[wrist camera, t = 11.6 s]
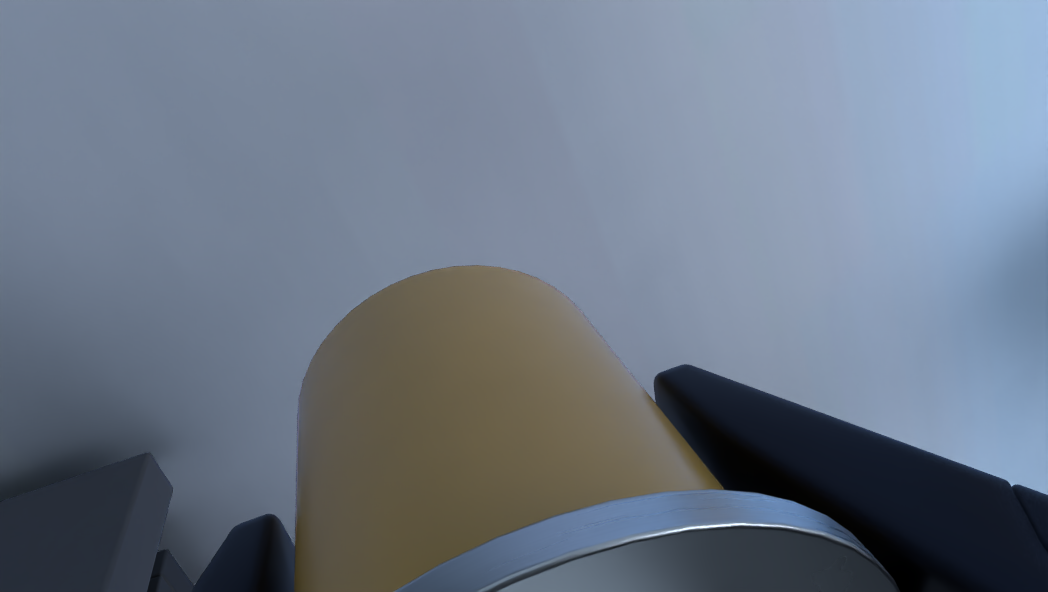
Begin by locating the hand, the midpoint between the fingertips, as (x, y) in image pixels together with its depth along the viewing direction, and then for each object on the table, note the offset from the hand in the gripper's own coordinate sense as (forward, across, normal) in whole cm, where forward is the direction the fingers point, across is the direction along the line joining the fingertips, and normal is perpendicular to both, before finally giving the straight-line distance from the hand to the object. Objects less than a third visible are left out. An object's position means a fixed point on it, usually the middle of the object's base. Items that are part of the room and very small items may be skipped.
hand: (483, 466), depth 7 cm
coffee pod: (+1, 0, 0) cm, 1 cm away
